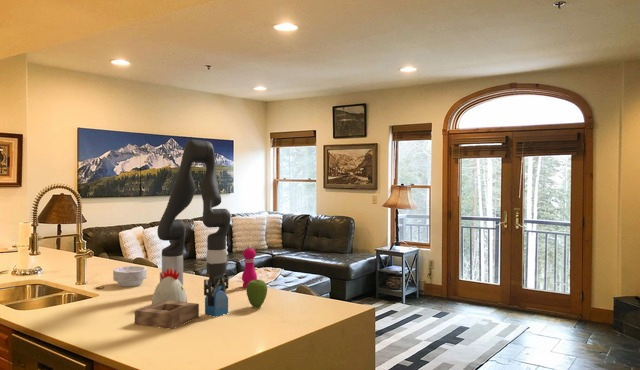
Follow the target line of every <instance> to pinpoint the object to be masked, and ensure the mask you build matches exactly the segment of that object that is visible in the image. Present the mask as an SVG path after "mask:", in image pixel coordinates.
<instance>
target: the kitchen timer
mask: <svg viewBox="0 0 640 370" xmlns="http://www.w3.org/2000/svg"><path fill="white" fill-rule="evenodd" d="M179 274H180V272H179V273H178V274H177V271H176V269H175V271H174V274H173V270H172V269H171V270H170V272H169V268H168V269H167V273H166V272H165V271H164V276H163V275H162V274H160V273H159V276H160V275H161V278H162V280H161V281H160V280H159V283H158V284H157V285H156V286H155V289H154V292H153V295H152V299H151V304H154V303H156V302H159V301H162V300H167V301H177V302H187V303H188V296H187V293H186V290H185V287H184V284H183V285H182V284H181V282H180V281H179V280H178V279H177V278H178V276H179Z"/></svg>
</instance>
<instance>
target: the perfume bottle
mask: <svg viewBox="0 0 640 370" xmlns="http://www.w3.org/2000/svg"><path fill="white" fill-rule="evenodd" d="M220 284H221V282H220V283H219V284H218V288H217V290H216V291H215V293H214V306H212V307H211V306H208V296H205V298H204V315H206V314H207V316H209V315H211V317H213V316H215V317H214V318H217V317H216V316H218V317H221V316H220V315H222V316H224V315H223V314H225V315H228V314H229V297H228V295H227V293H226V291H225V292H224V291H221V290H220V289H221V286H220ZM211 293H212V291H211ZM227 313H228V314H227Z"/></svg>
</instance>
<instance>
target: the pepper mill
mask: <svg viewBox="0 0 640 370" xmlns="http://www.w3.org/2000/svg"><path fill="white" fill-rule="evenodd" d="M256 254H257V252H256V250H255V249H253V248H252V245H250V244H249V245H248V246H247V248H246V249H244V250H243V253H242V257H244V259H243V260H244V261H243V262H244V270H243V272H242V274H241V281H242V282H243V283H242V288H244V289H246V287H247V284H248V283H249V282H250V281H252V280H258V275H257V272H256V270H255V261H256V259H255V257H256Z"/></svg>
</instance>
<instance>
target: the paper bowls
mask: <svg viewBox="0 0 640 370" xmlns="http://www.w3.org/2000/svg"><path fill="white" fill-rule="evenodd" d="M147 271H148V269H147V267H145V266H142V265H141V266H140V265H138V266H137V265H130V266H129V265H128V266H120V267H117V268H114V269H113V275H112V276H113V280H112V281H114V282H116V283H117V285H118V286H119V287H121V288H123V287H124V288H132V286H133V287H137V286H140V285H142V284H143V281H144V280H146V279H147V277H148V272H147Z"/></svg>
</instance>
